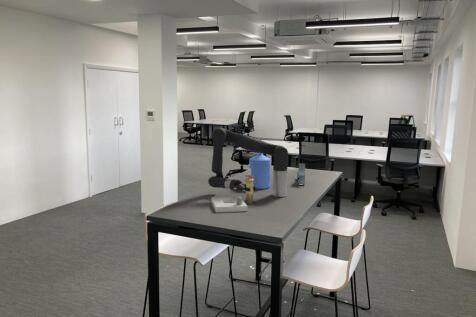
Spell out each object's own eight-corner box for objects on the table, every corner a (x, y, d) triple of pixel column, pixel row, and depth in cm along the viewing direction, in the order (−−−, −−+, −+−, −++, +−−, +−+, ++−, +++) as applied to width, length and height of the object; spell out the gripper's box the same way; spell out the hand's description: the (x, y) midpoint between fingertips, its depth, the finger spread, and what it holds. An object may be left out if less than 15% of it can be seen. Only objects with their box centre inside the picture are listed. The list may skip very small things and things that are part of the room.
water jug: (274, 186, 285) (275, 149, 281) (262, 190, 273) (263, 151, 269) (256, 183, 294) (257, 147, 290) (244, 187, 282) (245, 149, 278)
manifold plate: (211, 202, 237) (211, 191, 236) (240, 201, 241) (240, 190, 240) (215, 212, 216) (215, 200, 215) (247, 211, 219) (247, 199, 218)
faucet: (296, 192, 313) (297, 183, 284) (296, 172, 318) (298, 161, 289) (304, 192, 312) (306, 183, 284) (304, 172, 317) (306, 162, 289)
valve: (242, 202, 238) (242, 175, 235) (248, 201, 242) (249, 174, 239) (250, 204, 233) (250, 177, 231) (256, 203, 237) (256, 175, 235)
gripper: (225, 180, 241) (244, 184, 229) (241, 177, 251) (260, 181, 239) (225, 192, 242) (244, 197, 230) (240, 189, 252) (260, 193, 240)
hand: (252, 189), depth 234 cm, fingers closed on valve, 4 cm apart
